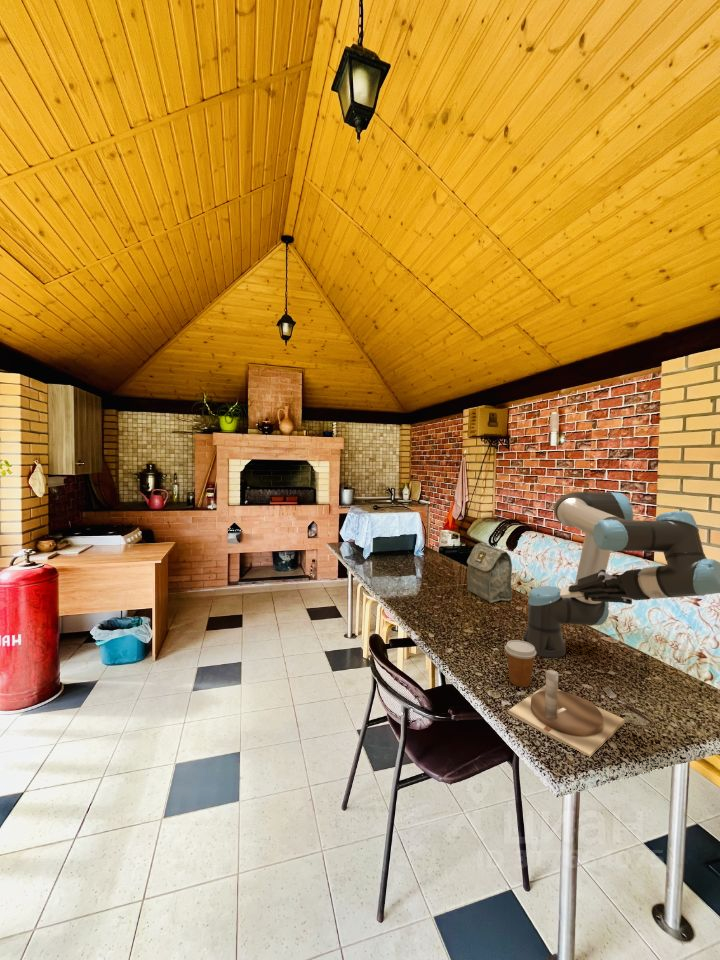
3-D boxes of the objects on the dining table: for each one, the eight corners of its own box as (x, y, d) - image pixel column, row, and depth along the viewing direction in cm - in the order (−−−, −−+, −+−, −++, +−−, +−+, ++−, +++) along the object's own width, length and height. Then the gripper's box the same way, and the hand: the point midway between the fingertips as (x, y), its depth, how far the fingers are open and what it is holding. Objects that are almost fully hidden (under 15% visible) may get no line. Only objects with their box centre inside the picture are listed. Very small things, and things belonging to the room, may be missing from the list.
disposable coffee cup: (510, 670, 138) (510, 636, 138) (539, 680, 132) (540, 645, 132) (499, 682, 131) (500, 646, 130) (530, 693, 125) (531, 656, 124)
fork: (650, 726, 110) (650, 719, 110) (602, 693, 126) (602, 687, 126) (657, 725, 111) (658, 718, 111) (608, 692, 126) (609, 686, 126)
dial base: (546, 687, 129) (546, 683, 129) (624, 722, 111) (624, 718, 111) (508, 713, 115) (508, 709, 115) (590, 758, 98) (590, 754, 98)
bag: (463, 590, 223) (464, 541, 222) (488, 587, 228) (489, 540, 227) (487, 604, 202) (488, 550, 200) (514, 601, 207) (515, 548, 205)
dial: (556, 688, 125) (557, 646, 125) (616, 721, 110) (618, 673, 109) (517, 705, 117) (518, 660, 116) (576, 744, 101) (578, 692, 100)
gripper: (629, 581, 97) (545, 591, 116) (661, 611, 100) (574, 616, 119) (631, 556, 101) (550, 569, 120) (662, 585, 104) (578, 594, 123)
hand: (562, 592), depth 120 cm, fingers closed
